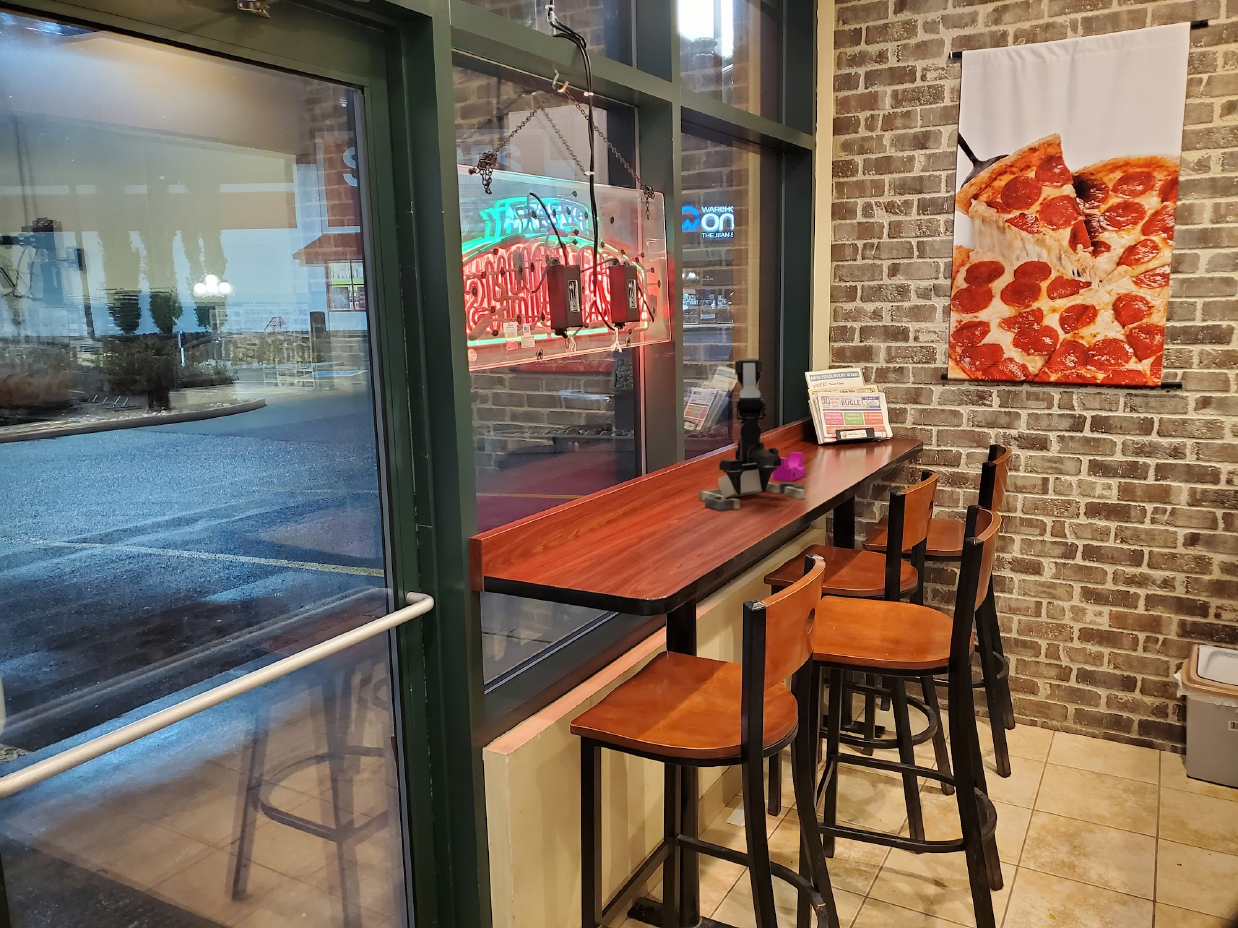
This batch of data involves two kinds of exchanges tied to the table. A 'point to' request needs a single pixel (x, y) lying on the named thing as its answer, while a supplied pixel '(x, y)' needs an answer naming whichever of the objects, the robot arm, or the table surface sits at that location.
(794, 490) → the trap lane
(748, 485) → the push block
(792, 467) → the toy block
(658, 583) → the table surface
